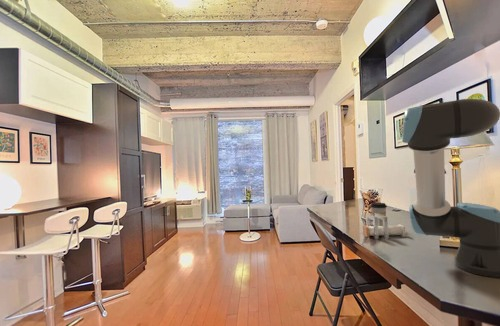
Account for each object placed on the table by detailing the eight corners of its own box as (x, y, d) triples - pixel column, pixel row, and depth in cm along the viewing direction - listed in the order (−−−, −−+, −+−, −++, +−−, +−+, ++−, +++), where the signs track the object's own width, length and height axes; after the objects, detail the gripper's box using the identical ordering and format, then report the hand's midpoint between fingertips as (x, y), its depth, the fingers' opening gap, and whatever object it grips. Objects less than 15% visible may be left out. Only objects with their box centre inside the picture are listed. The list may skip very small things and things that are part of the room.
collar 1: (378, 238, 126) (377, 217, 127) (375, 238, 127) (374, 217, 127) (369, 232, 138) (368, 212, 139) (366, 232, 139) (365, 213, 139)
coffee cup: (384, 225, 153) (382, 202, 153) (391, 229, 143) (389, 204, 144) (368, 225, 153) (367, 202, 154) (374, 229, 144) (373, 204, 144)
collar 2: (388, 238, 126) (387, 216, 126) (385, 238, 126) (384, 217, 126) (378, 232, 138) (377, 212, 138) (375, 232, 138) (374, 212, 138)
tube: (400, 233, 134) (399, 224, 134) (405, 236, 128) (404, 226, 128) (363, 234, 136) (362, 225, 136) (366, 237, 130) (366, 227, 130)
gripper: (454, 142, 105) (457, 190, 104) (419, 146, 130) (422, 185, 129) (435, 143, 105) (439, 190, 105) (404, 147, 130) (407, 186, 130)
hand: (429, 188), depth 117 cm, fingers open, 13 cm apart
